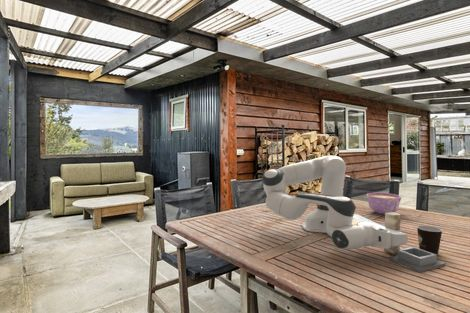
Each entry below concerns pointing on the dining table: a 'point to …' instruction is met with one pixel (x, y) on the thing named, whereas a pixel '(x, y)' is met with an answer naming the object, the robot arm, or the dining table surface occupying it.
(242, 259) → the dining table surface
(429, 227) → the coffee mug
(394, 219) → the beige wooden block
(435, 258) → the grey stepped tray
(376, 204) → the bowl of food
